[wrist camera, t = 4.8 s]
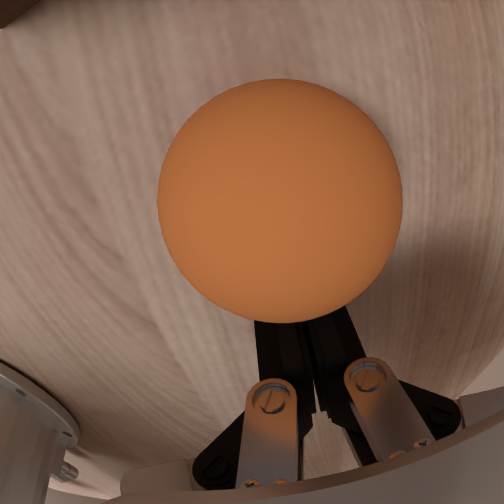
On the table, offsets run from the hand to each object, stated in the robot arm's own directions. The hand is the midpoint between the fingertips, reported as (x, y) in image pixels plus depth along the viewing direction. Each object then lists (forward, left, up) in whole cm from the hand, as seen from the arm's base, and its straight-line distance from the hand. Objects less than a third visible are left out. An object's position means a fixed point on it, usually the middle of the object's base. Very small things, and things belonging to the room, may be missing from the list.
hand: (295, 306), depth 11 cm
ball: (+5, 0, +1) cm, 5 cm away
